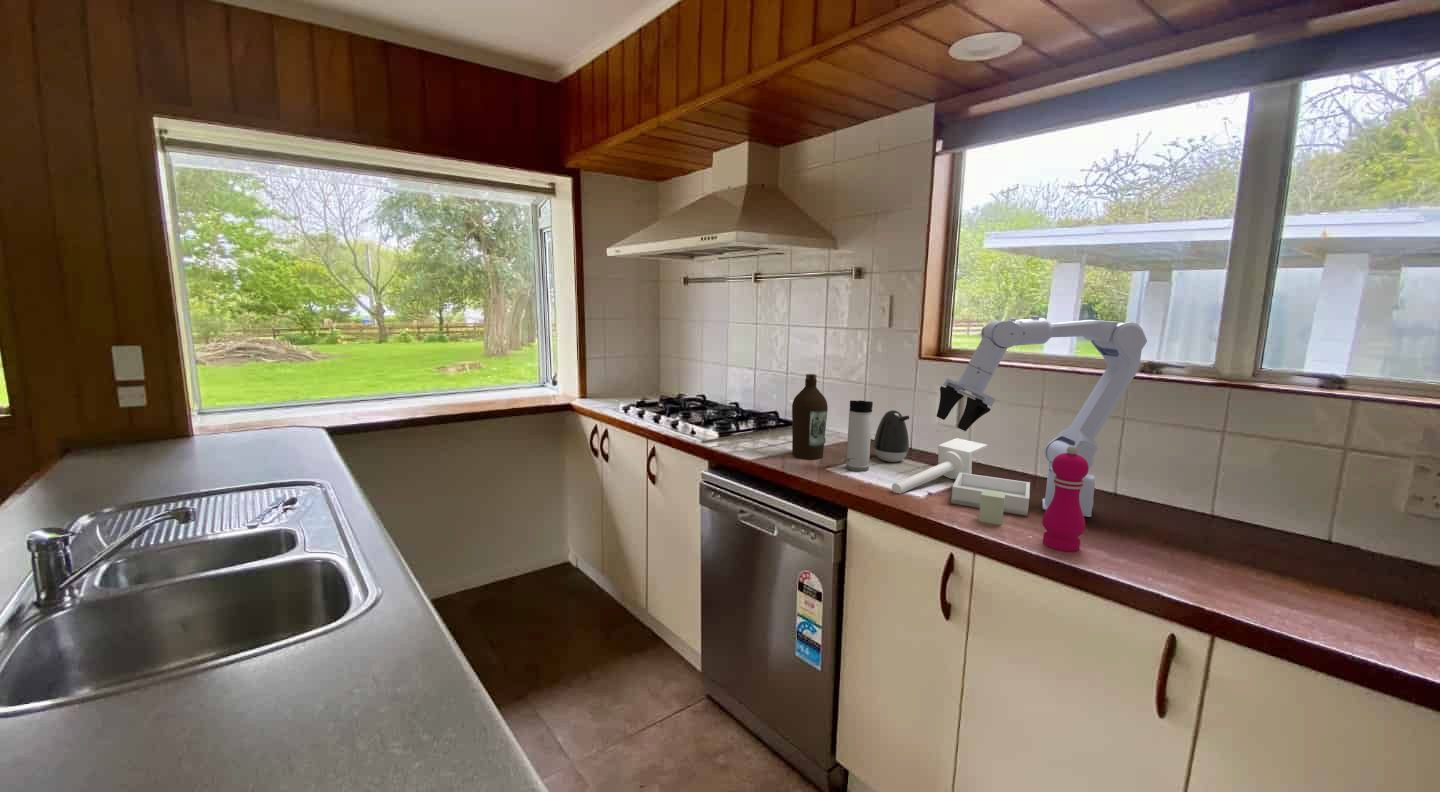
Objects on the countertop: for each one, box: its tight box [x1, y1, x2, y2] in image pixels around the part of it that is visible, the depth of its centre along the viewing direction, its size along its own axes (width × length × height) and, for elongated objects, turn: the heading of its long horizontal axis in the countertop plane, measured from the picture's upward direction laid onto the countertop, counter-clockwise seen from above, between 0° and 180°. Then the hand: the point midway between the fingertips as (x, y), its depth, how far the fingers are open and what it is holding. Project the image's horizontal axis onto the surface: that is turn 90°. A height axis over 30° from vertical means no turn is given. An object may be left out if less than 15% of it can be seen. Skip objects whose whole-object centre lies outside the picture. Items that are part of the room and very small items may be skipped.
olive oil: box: [791, 373, 828, 460], centre depth 176 cm, size 11×11×25 cm
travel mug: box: [845, 399, 873, 473], centre depth 163 cm, size 6×7×20 cm
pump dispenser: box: [873, 409, 910, 463], centre depth 173 cm, size 10×10×15 cm
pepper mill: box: [1041, 446, 1089, 553], centre depth 112 cm, size 7×7×20 cm
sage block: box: [978, 489, 1005, 526], centre depth 126 cm, size 4×4×6 cm
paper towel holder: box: [891, 437, 988, 495], centre depth 152 cm, size 9×9×32 cm
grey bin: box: [950, 472, 1031, 517], centre depth 139 cm, size 16×14×4 cm
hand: (950, 423), depth 133 cm, fingers open, 7 cm apart
